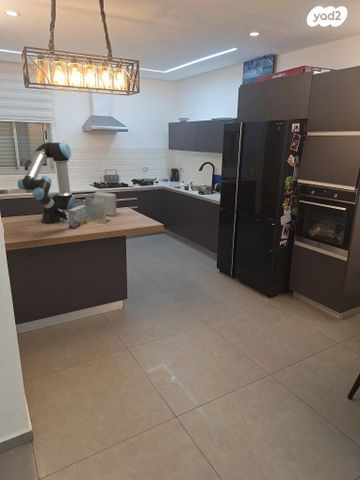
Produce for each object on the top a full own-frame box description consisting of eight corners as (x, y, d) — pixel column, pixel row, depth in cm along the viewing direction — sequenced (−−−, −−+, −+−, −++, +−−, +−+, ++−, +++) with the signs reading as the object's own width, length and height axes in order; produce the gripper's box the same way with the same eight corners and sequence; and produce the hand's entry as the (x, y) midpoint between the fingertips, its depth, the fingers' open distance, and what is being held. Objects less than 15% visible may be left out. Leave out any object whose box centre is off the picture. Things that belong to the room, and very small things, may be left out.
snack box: (75, 229, 258) (73, 210, 254) (68, 228, 259) (67, 210, 255) (87, 222, 278) (86, 205, 273) (81, 222, 279) (80, 204, 274)
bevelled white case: (118, 215, 306) (117, 193, 300) (112, 216, 299) (112, 195, 293) (99, 212, 314) (98, 191, 308) (94, 214, 307) (93, 192, 301)
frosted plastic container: (87, 220, 284) (85, 197, 278) (93, 218, 292) (92, 196, 286) (104, 223, 277) (103, 199, 271) (110, 220, 285) (109, 198, 279)
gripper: (40, 207, 237) (59, 224, 257) (54, 209, 232) (72, 226, 252) (45, 199, 240) (63, 216, 260) (59, 201, 235) (76, 218, 255)
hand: (67, 221), depth 256 cm, fingers closed
